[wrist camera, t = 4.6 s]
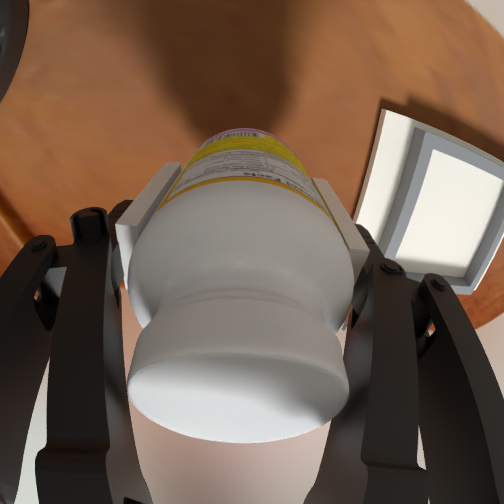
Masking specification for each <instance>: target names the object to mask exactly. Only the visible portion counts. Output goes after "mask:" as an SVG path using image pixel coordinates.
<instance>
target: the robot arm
mask: <svg viewBox="0 0 504 504" xmlns="http://www.w3.org/2000/svg"><path fill="white" fill-rule="evenodd" d="M27 22H28V3H27V0H0V102H1V101H2V99H3V97H4V95H5V93H6V92H7V90H8V87H9V85H10V83H11V81H12V79H13V76H14V74H15V71H16V68H17V65H18V62H19V59H20V56H21V52H22V49H23V45H24V40H25V36H26V30H27ZM180 172H181V162H166V163H165V165H164V166H163V167H162V168H161V169H160V170H159V171H158V172H157V174H156V175H155V176H154V177H153V178H152V179H151V180H150V182H149V183H148V184H147V185H146V186H145V188H144V189H143V190H142V191H141V192H140V194H139V195H138V196H137V197H136V198H135V200H124V201H122V202H121V203H119V204H117V205H116V206H115V207H114V208H113V210H112V212H110V213H109V214H108V215H107V211H106V210H105V209H103V208H99V207H90V208H85V209H82V210H79V211H77V212H76V213H74V214H73V215H72V216H71V217H70V223H71V228H72V232H73V237H74V243H73V244H72V245H65V246H56V243H55V239H54V238H53V237H52V236H50V235H39V236H36V237H34V238H33V239H31V240H29V241H28V242H27V243H26V244H25V245H24V247H23V248H22V249H21V250H20V252H19V253H18V254H17V256H16V257H15V258H14V260H13V261H12V262H11V264H10V265H9V266H8V268H7V269H6V270H5V272H4V273H3V275H2V276H1V278H0V504H14V502H15V498H16V495H17V491H18V486H19V480H20V475H21V468H22V461H23V454H24V449H25V444H26V439H27V434H28V430H29V426H30V421H31V417H32V413H33V409H34V405H35V402H36V398H37V395H38V391H39V388H40V385H41V382H42V378H43V375H44V372H45V369H46V366H47V363H48V361H49V358H50V363H49V374H48V388H47V389H48V390H47V443H46V446H45V447H44V448H43V449H41V450H40V451H39V452H38V453H37V456H36V459H35V475H36V485H37V492H38V499H39V504H153V502H152V498H151V495H150V492H149V489H148V486H147V484H146V482H145V480H144V478H143V475H142V472H141V469H140V465H139V460H138V456H137V451H136V446H135V440H134V435H133V429H132V423H131V416H130V411H129V402H128V395H127V386H126V377H125V367H124V353H123V337H122V308H121V307H122V306H121V291H120V284H121V282H122V280H123V278H124V282H125V287H126V289H128V285H127V278H128V267H129V261H130V258H131V254H132V251H133V249H134V246H135V244H136V242H137V240H138V238H139V236H140V235H141V233H142V231H143V230H144V228H145V226H146V225H147V223H148V222H149V220H150V218H151V217H152V215H153V214H154V212H155V211H156V209H157V207H158V206H159V204H160V203H161V201H162V200H163V198H164V196H165V195H166V193H167V192H168V190H169V189H170V187H171V186H172V184H173V183H174V181H175V180H176V178H177V176H178V175H179V173H180ZM311 181H312V183H313V185H314V187H315V188H316V190H317V192H318V194H319V195H320V197H321V199H322V201H323V203H324V205H325V207H326V208H327V210H328V212H329V214H330V216H331V218H332V219H333V221H334V223H335V225H336V227H337V229H338V231H339V232H340V234H341V236H342V239H343V241H344V243H345V245H346V247H347V249H348V252H349V254H350V258H351V262H352V267H353V274H354V290H353V297H352V305H353V308H352V310H351V312H350V314H349V316H348V318H347V320H346V322H345V324H344V326H343V328H342V330H345V328H346V327H347V333H346V341H345V349H344V355H343V362H344V366H345V370H346V374H347V378H348V384H349V397H348V400H347V403H346V405H345V406H344V407H343V409H342V410H341V411H340V412H339V413H338V414H337V415H336V416H335V417H334V418H333V419H332V420H331V424H330V429H329V433H328V437H327V441H326V445H325V449H324V453H323V457H322V461H321V464H320V468H319V472H318V475H317V478H316V481H315V483H314V485H313V487H312V488H311V490H310V491H309V493H308V494H307V496H306V498H305V500H304V503H303V504H428V499H429V501H430V504H504V398H503V396H502V393H501V390H500V387H499V385H498V382H497V380H496V377H495V374H494V372H493V369H492V367H491V365H490V362H489V360H488V358H487V355H486V353H485V351H484V349H483V346H482V344H481V342H480V340H479V338H478V336H477V334H476V332H475V330H474V328H473V326H472V324H471V322H470V320H469V318H468V316H467V314H466V312H465V310H464V308H463V307H462V305H461V303H460V301H459V299H458V298H457V296H456V294H455V292H454V291H453V289H452V287H451V286H450V284H449V283H448V282H447V281H446V280H445V279H444V278H443V277H442V276H440V275H438V274H434V273H427V274H425V275H424V277H423V279H422V281H421V282H419V281H416V280H413V279H410V278H407V277H406V273H405V270H404V269H403V268H402V267H401V265H399V264H398V263H397V262H395V261H393V260H391V259H388V258H385V257H384V255H383V254H382V252H381V250H380V249H379V247H378V245H377V244H376V242H375V241H374V239H372V238H373V237H372V236H371V234H370V233H369V231H368V230H367V229H366V228H364V227H363V226H362V225H361V224H355V223H353V221H352V219H351V218H350V216H349V215H348V213H347V211H346V210H345V208H344V207H343V205H342V203H341V202H340V200H339V199H338V197H337V196H336V194H335V192H334V191H333V189H332V188H331V186H330V185H329V183H328V182H327V180H325V179H319V178H313V177H312V180H311ZM36 290H37V291H38V294H39V296H38V298H37V299H36V300H35V298H34V295H35V292H36ZM432 324H434V326H435V329H436V330H435V331H434V332H433V334H432V335H431V336H430V335H429V333H428V329H429V328H430V326H431V325H432ZM418 428H420V433H421V439H422V445H423V451H424V458H425V465H426V470H425V469H423V468H421V467H419V466H418V463H417V449H418Z"/></svg>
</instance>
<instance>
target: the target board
mask: <svg viewBox="0 0 504 504" xmlns="http://www.w3.org/2000/svg"><path fill="white" fill-rule="evenodd" d="M353 223H355V224H361V225H362V226H363V227H364V228H366V229H367V230H368V231H369V233H370V234H371V236H372V237H373V238H372V239H374V241H375V242H376V244H377V245H378V247H379V249H380V250H381V252H382V254H383V255H384V257H385V258H388V259H391V260H393V261H395V262H397V263H398V264H399V265H401V267H402V268H403V269H404V270H405V273H406V277H407V278H410V279H413V280H416V281H419V282H421V281H422V279H423V277H424V275H425V274H427V273H434V274H438V275H440V276H442V277H443V278H444V279H445V280H446V281H447V282H448V283H449V284H450V286H451V287H452V289H453V291H454V292H455V294H467V295H471V294H472V292H473V290H476V288H477V287H478V285H479V283H480V281H481V280H482V278H483V276H484V274H485V272H486V271H487V269H488V267H489V265H490V263H491V261H492V259H493V257H494V255H495V253H496V251H497V249H498V247H499V245H500V243H501V241H502V239H503V237H504V162H503V161H501V160H499V159H497V158H496V157H494V156H492V155H490V154H488V153H487V152H485V151H483V150H481V149H479V148H477V147H475V146H473V145H471V144H469V143H467V142H465V141H463V140H461V139H459V138H457V137H454V136H452V135H450V134H448V133H446V132H443V131H441V130H439V129H436V128H434V127H431V126H429V125H427V124H424V123H422V122H419V121H416V120H414V119H411V118H408V117H406V116H403V115H400V114H397V113H394V112H391V111H388V110H385V109H381V114H380V119H379V123H378V128H377V132H376V136H375V141H374V145H373V149H372V153H371V157H370V161H369V165H368V168H367V172H366V176H365V180H364V183H363V187H362V190H361V194H360V197H359V201H358V204H357V207H356V211H355V214H354V217H353Z"/></svg>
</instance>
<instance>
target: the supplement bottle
mask: <svg viewBox="0 0 504 504" xmlns="http://www.w3.org/2000/svg"><path fill="white" fill-rule="evenodd" d="M127 285H128V293H129V298H130V302H131V306H132V308H133V311H134V313H135V316H136V318H137V320H138V321H139V323H140V325H141V326H142V328H143V331H142V332H141V334H140V335H139V338H138V340H137V343H136V347H135V351H134V355H133V359H132V362H131V367H130V370H129V374H128V379H127V392H128V395H129V398H130V400H131V401H132V403H133V404H134V405H135V407H136V408H137V409H138V410H139V411H140V412H141V413H143V414H144V415H145V416H146V417H148V418H149V419H150V420H152V421H154V422H155V423H157V424H159V425H161V426H164V427H166V428H168V429H170V430H172V431H175V432H178V433H181V434H184V435H187V436H190V437H194V438H199V439H205V440H212V441H220V442H230V443H258V442H268V441H275V440H281V439H286V438H290V437H294V436H298V435H301V434H304V433H306V432H309V431H312V430H314V429H316V428H318V427H320V426H322V425H324V424H325V423H327V422H329V421H330V420H331V419H333V418H334V417H335V416H336V415H337V414H338V413H339V412H340V411H341V410H342V409H343V407H344V406H345V405H346V403H347V400H348V397H349V384H348V378H347V374H346V370H345V366H344V362H343V356H342V349H341V345H340V342H339V340H338V338H337V336H336V335H335V334H336V333H337V332H338V330H339V328H340V327H341V326H342V324H343V322H344V320H345V318H346V316H347V314H348V311H349V309H350V305H351V302H352V297H353V290H354V274H353V267H352V262H351V258H350V254H349V252H348V249H347V247H346V245H345V243H344V241H343V239H342V236H341V234H340V232H339V231H338V229H337V227H336V225H335V223H334V221H333V219H332V218H331V216H330V214H329V212H328V210H327V208H326V207H325V205H324V203H323V201H322V199H321V197H320V195H319V194H318V192H317V190H316V188H315V187H314V185H313V183H312V181H311V179H310V178H309V176H308V174H307V173H306V171H305V169H304V167H303V166H302V164H301V162H300V161H299V159H298V157H297V156H296V154H295V153H294V152H293V151H292V149H291V148H290V147H289V146H288V145H286V144H285V143H284V142H283V141H282V140H280V139H279V138H277V137H275V136H274V135H272V134H270V133H267V132H264V131H261V130H257V129H250V128H238V129H232V130H227V131H224V132H221V133H219V134H217V135H214V136H213V137H211V138H209V139H208V140H206V141H205V142H204V143H203V144H201V146H200V147H199V148H198V149H197V150H196V151H195V152H194V154H193V155H192V156H191V158H190V159H189V160H188V162H187V163H186V165H185V166H184V167H183V169H182V170H181V172H180V173H179V175H178V176H177V178H176V180H175V181H174V183H173V184H172V186H171V187H170V189H169V190H168V192H167V193H166V195H165V196H164V198H163V200H162V201H161V203H160V204H159V206H158V207H157V209H156V211H155V212H154V214H153V215H152V217H151V218H150V220H149V222H148V223H147V225H146V226H145V228H144V230H143V231H142V233H141V235H140V236H139V238H138V240H137V242H136V244H135V246H134V249H133V251H132V254H131V258H130V261H129V267H128V278H127Z"/></svg>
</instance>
